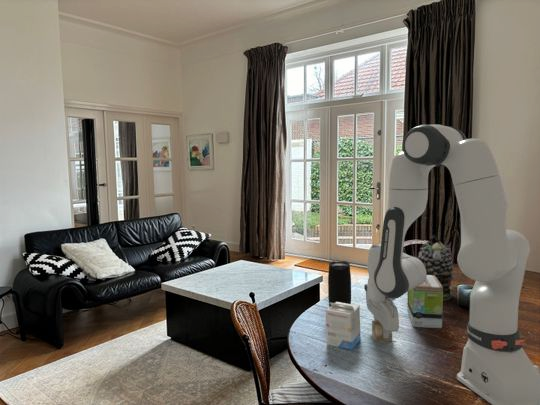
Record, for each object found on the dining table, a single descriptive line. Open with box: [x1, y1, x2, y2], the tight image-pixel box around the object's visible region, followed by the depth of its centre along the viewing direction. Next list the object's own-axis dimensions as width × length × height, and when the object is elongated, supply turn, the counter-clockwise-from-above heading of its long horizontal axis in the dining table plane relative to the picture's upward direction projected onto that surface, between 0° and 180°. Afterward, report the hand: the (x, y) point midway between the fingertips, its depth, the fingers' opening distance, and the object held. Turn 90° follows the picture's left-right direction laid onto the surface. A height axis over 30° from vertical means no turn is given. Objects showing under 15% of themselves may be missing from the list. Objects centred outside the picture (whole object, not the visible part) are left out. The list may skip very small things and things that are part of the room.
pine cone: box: [417, 234, 454, 301], centre depth 170 cm, size 21×15×25 cm
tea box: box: [406, 275, 444, 329], centre depth 146 cm, size 15×10×15 cm, turn 168°
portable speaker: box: [327, 260, 352, 308], centre depth 154 cm, size 9×9×20 cm
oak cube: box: [371, 320, 393, 343], centre depth 133 cm, size 5×5×5 cm
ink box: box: [325, 302, 361, 351], centre depth 130 cm, size 9×8×13 cm
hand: (381, 333), depth 133 cm, fingers closed on oak cube, 5 cm apart
